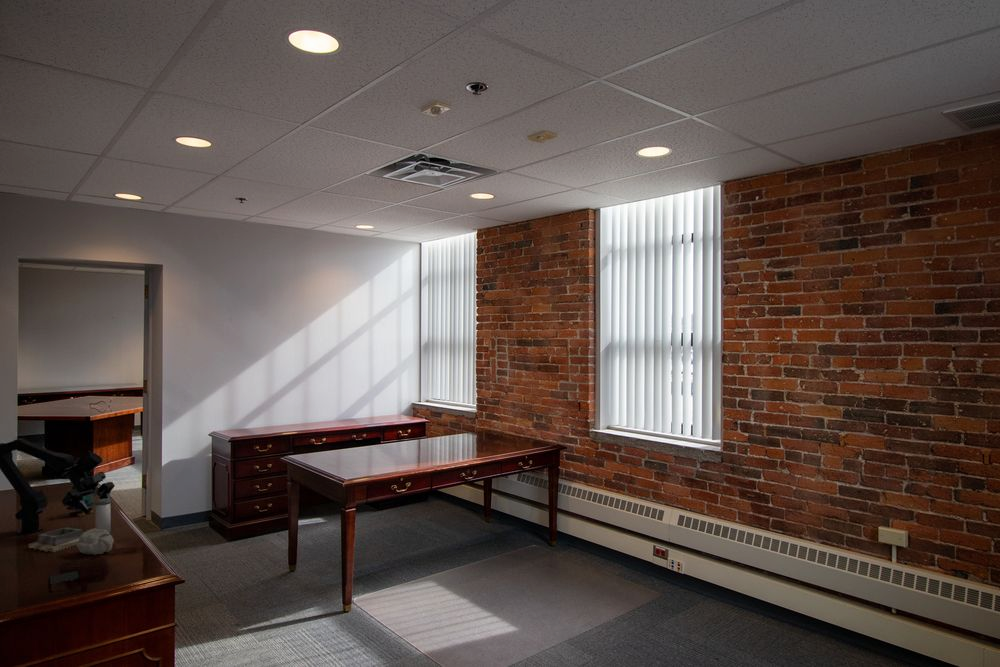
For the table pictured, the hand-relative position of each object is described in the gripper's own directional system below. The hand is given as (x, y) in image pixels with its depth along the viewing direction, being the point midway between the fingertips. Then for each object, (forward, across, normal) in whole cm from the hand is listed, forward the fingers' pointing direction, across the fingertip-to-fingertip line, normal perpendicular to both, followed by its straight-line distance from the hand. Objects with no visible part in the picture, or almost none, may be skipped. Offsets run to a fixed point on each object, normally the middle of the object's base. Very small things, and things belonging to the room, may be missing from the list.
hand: (99, 509), depth 240 cm
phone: (+33, -41, -19) cm, 56 cm away
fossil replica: (+22, -18, -8) cm, 29 cm away
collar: (+6, -15, +7) cm, 18 cm away
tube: (+8, 0, +5) cm, 9 cm away
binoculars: (-17, +16, +30) cm, 38 cm away
